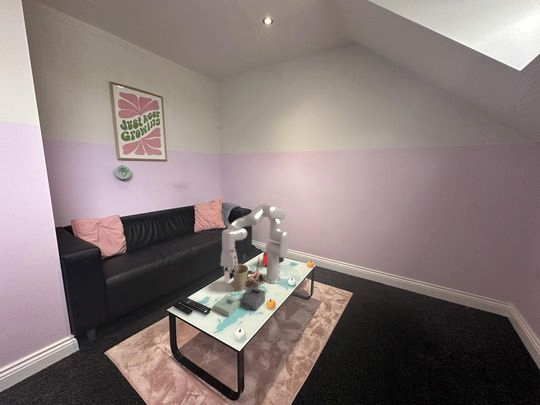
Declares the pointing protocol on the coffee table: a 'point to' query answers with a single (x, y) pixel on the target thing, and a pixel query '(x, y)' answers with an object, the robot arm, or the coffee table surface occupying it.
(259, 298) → the dark grey rounded block
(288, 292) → the coffee table surface
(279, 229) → the robot arm
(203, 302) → the coffee table surface
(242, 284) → the plant pot
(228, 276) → the plug
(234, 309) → the block
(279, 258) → the game console
